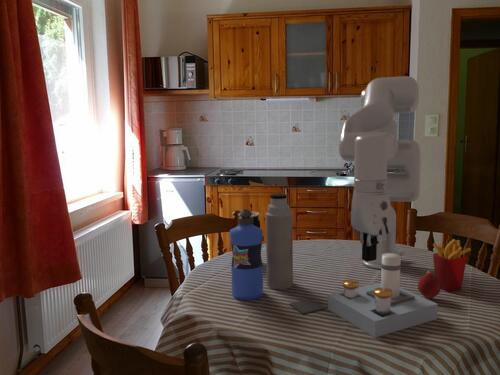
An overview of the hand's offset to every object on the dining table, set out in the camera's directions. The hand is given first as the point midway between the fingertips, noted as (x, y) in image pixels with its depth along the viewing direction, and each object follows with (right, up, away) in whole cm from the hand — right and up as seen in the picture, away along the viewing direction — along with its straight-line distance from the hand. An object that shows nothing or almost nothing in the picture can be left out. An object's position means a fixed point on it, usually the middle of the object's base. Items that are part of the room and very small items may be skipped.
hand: (369, 259), depth 110 cm
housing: (+4, -15, +5) cm, 16 cm away
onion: (+20, -13, +14) cm, 28 cm away
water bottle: (-30, -13, +20) cm, 39 cm away
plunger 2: (+2, -13, -3) cm, 14 cm away
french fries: (+30, -12, +21) cm, 38 cm away
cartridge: (+7, -15, +6) cm, 17 cm away
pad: (-14, -14, +10) cm, 23 cm away
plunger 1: (-3, -14, +8) cm, 16 cm away
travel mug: (-29, -9, +48) cm, 57 cm away
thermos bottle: (-20, -12, +27) cm, 36 cm away
